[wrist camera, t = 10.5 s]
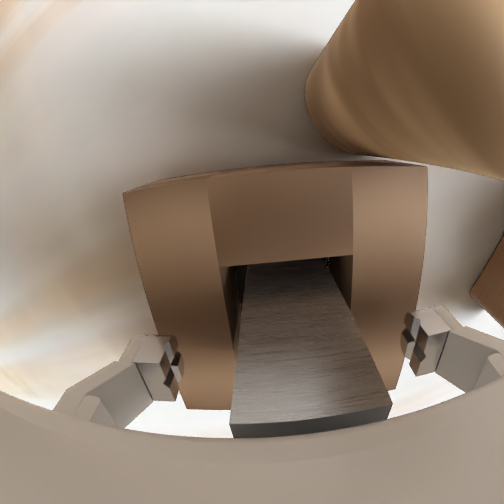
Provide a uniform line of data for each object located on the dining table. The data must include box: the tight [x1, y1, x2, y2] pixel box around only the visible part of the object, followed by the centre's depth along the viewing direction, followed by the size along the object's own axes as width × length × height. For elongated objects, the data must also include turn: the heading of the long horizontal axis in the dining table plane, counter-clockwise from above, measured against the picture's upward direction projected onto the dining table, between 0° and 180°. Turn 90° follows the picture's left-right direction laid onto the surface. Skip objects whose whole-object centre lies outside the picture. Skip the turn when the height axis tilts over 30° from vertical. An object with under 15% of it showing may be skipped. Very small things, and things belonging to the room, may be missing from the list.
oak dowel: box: [305, 0, 504, 181], centre depth 7 cm, size 6×6×10 cm
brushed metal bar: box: [229, 258, 393, 438], centre depth 10 cm, size 3×3×10 cm
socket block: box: [123, 160, 428, 410], centre depth 13 cm, size 11×11×4 cm
